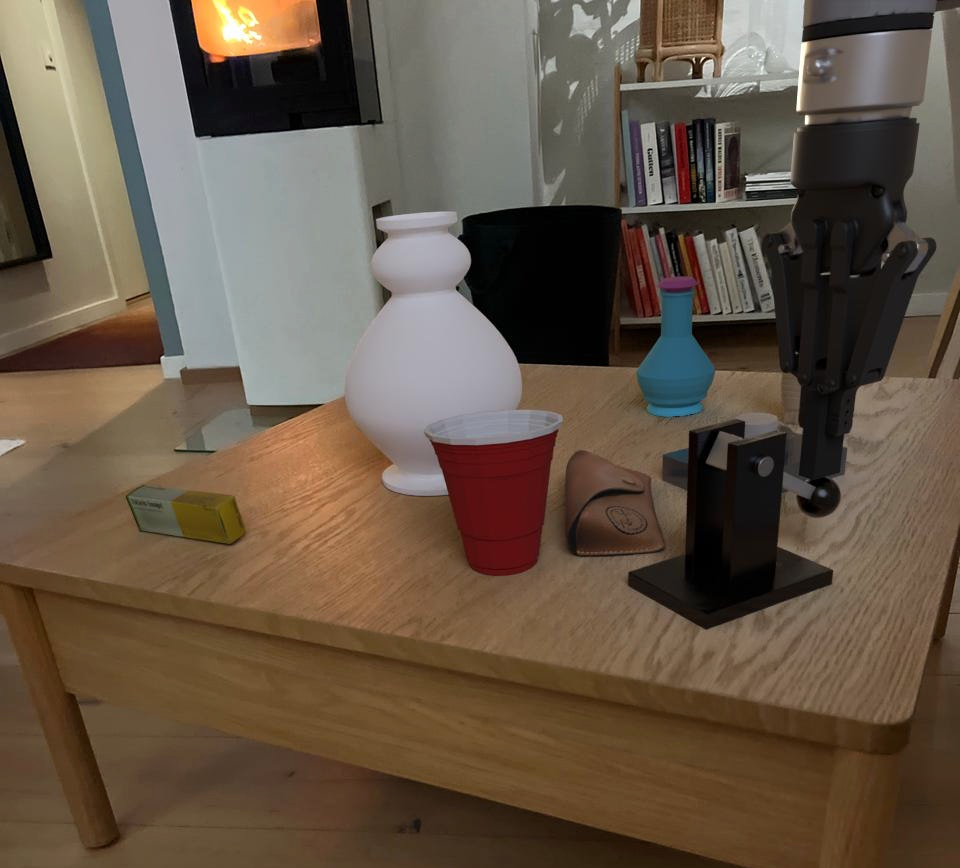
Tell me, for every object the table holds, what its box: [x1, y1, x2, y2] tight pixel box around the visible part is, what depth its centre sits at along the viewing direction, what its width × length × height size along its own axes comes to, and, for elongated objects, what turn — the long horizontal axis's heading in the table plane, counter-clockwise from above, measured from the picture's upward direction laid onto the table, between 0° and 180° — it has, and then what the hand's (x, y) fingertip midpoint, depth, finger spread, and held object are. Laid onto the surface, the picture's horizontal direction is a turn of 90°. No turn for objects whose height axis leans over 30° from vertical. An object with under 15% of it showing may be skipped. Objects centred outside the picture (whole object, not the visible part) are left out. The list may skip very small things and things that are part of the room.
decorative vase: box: [343, 211, 523, 497], centre depth 92 cm, size 18×18×25 cm
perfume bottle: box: [636, 275, 716, 418], centre depth 110 cm, size 9×9×15 cm
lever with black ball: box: [706, 431, 842, 519], centre depth 69 cm, size 13×3×3 cm
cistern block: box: [661, 423, 848, 494], centre depth 90 cm, size 14×10×4 cm
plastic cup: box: [424, 409, 564, 577], centre depth 75 cm, size 11×11×12 cm
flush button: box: [733, 412, 779, 439], centre depth 88 cm, size 4×4×2 cm
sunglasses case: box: [564, 449, 666, 557], centre depth 84 cm, size 18×7×7 cm, turn 176°
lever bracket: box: [627, 418, 834, 630], centre depth 68 cm, size 12×9×12 cm
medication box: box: [125, 484, 247, 545], centre depth 87 cm, size 12×3×4 cm, turn 61°
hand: (819, 473), depth 71 cm, fingers closed
